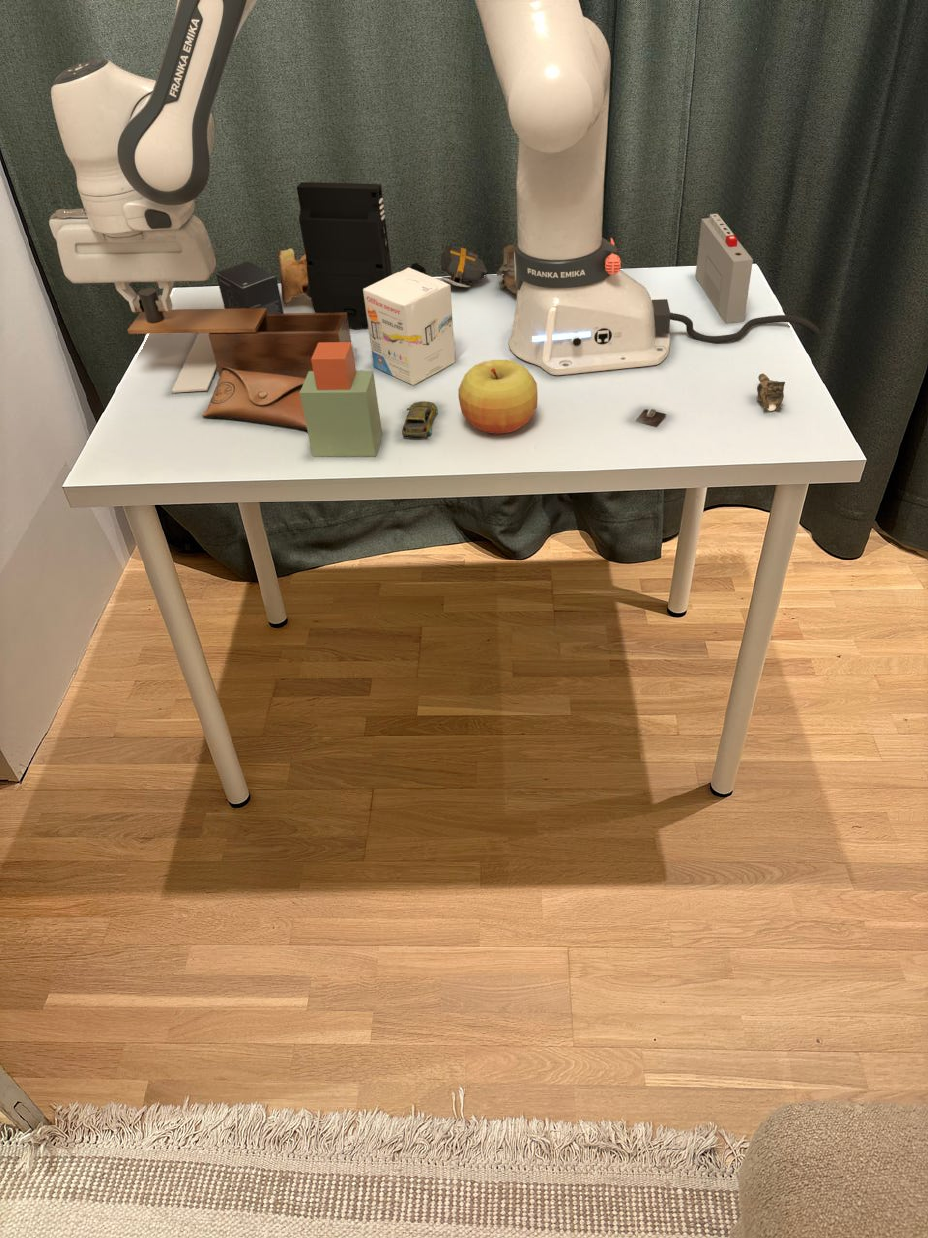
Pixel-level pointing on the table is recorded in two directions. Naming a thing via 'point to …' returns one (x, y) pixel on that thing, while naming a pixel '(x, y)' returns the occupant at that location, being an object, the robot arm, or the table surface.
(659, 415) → the square knob tile
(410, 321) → the ink box
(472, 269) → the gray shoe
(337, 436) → the block
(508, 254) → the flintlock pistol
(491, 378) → the apple
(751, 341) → the table surface
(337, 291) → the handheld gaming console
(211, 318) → the lid
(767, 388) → the cat figurine
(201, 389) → the nameplate
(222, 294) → the box
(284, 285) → the tan porous chunk
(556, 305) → the robot arm
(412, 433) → the race car
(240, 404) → the sunglasses case
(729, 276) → the cassette player
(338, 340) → the storage box
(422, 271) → the wireless earbuds
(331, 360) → the block
